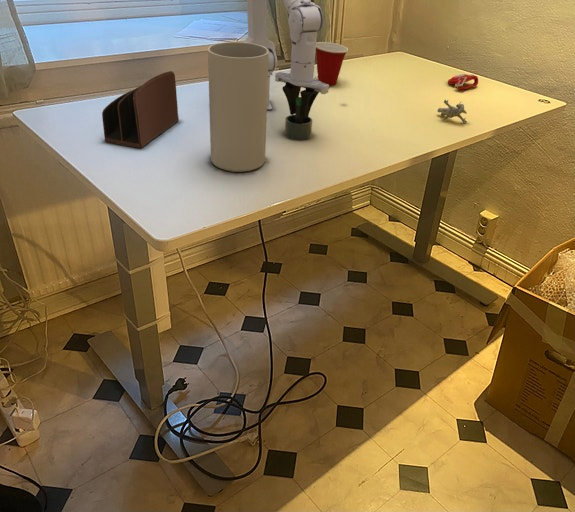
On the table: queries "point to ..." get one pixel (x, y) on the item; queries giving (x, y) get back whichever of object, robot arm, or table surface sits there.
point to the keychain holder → (461, 79)
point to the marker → (298, 111)
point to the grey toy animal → (453, 111)
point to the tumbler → (298, 128)
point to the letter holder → (142, 112)
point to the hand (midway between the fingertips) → (299, 115)
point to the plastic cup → (329, 61)
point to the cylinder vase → (238, 105)
